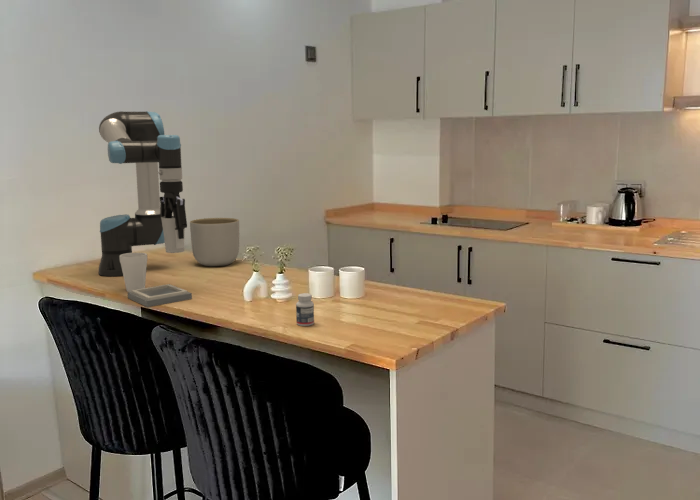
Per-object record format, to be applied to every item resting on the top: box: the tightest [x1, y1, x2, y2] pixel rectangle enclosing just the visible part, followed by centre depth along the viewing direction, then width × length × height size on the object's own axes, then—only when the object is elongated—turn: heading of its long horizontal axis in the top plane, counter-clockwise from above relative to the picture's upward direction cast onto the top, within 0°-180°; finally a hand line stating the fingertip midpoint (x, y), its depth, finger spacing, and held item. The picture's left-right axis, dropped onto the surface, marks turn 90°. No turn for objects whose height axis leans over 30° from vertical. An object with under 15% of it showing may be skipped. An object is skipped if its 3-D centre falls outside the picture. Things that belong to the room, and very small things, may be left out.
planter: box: [189, 217, 240, 267], centre depth 282 cm, size 21×21×19 cm
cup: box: [161, 215, 186, 254], centre depth 226 cm, size 8×8×12 cm
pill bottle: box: [295, 292, 315, 327], centre depth 192 cm, size 5×5×9 cm
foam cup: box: [119, 252, 148, 293], centre depth 236 cm, size 10×9×13 cm
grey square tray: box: [127, 283, 193, 308], centre depth 224 cm, size 16×16×3 cm
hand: (174, 246), depth 227 cm, fingers closed on cup, 7 cm apart
